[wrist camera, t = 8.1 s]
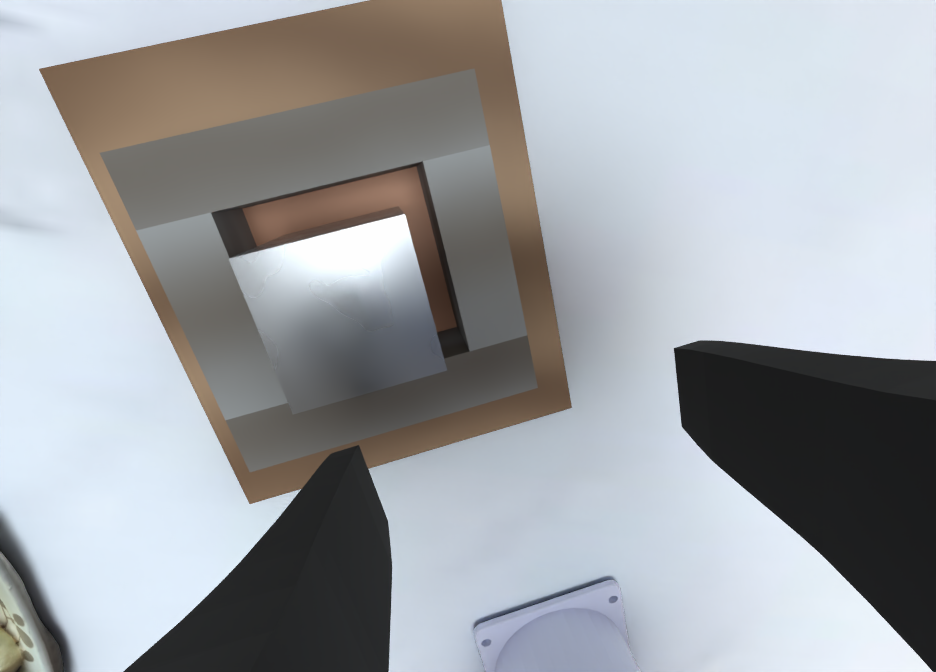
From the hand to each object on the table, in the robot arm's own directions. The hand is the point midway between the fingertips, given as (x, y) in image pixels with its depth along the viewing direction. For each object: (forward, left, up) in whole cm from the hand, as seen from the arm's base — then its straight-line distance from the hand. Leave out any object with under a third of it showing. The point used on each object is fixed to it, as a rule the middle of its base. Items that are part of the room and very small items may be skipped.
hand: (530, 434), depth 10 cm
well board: (+3, +3, -9) cm, 10 cm away
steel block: (+3, +3, -8) cm, 9 cm away
